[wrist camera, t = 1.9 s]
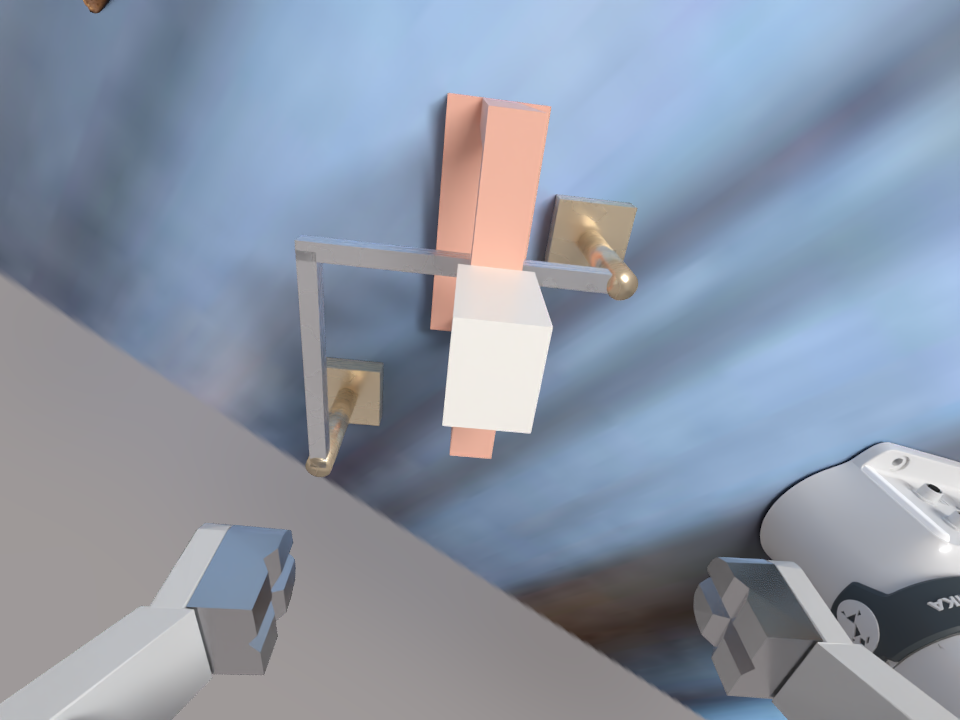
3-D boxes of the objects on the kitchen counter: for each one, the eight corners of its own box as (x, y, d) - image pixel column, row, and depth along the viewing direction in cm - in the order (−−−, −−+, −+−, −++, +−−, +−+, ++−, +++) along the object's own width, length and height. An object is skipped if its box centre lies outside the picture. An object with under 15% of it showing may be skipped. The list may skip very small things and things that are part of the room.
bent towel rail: (630, 203, 32) (684, 243, 24) (571, 431, 41) (595, 517, 33) (308, 164, 31) (247, 192, 23) (321, 409, 40) (281, 493, 32)
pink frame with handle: (547, 105, 29) (654, 132, 12) (511, 328, 37) (544, 547, 19) (449, 92, 29) (410, 101, 12) (431, 320, 36) (392, 536, 19)
